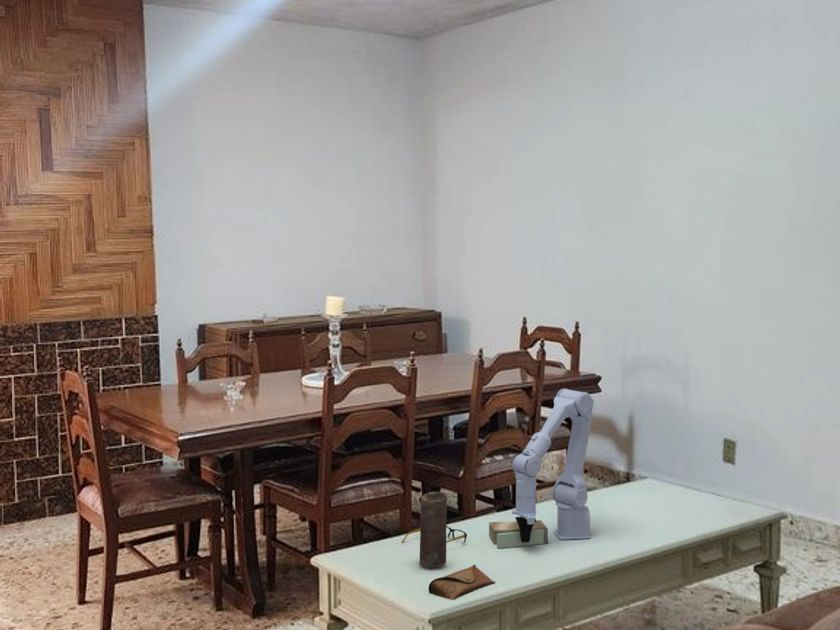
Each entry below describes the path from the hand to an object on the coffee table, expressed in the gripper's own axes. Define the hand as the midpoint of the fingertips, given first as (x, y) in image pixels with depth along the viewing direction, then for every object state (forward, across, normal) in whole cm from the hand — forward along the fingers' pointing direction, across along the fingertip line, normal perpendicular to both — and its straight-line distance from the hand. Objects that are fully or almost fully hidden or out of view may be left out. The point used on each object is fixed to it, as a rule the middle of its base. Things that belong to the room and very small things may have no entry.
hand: (525, 541), depth 285 cm
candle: (+2, +12, -28) cm, 31 cm away
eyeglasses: (+3, -7, -26) cm, 27 cm away
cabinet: (+2, -8, 0) cm, 8 cm away
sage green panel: (+1, -1, 0) cm, 2 cm away
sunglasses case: (+3, +29, -23) cm, 37 cm away
